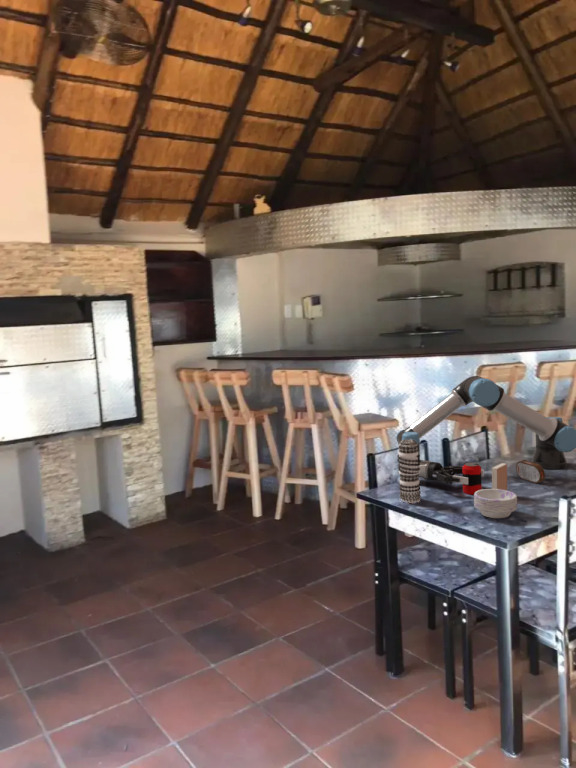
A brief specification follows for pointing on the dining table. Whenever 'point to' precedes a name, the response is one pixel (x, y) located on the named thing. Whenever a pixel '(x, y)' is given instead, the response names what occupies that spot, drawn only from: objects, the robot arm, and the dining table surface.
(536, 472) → the tin
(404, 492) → the decorative candle
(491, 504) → the paper bowls
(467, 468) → the soda can
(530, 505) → the dining table surface
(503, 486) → the block
